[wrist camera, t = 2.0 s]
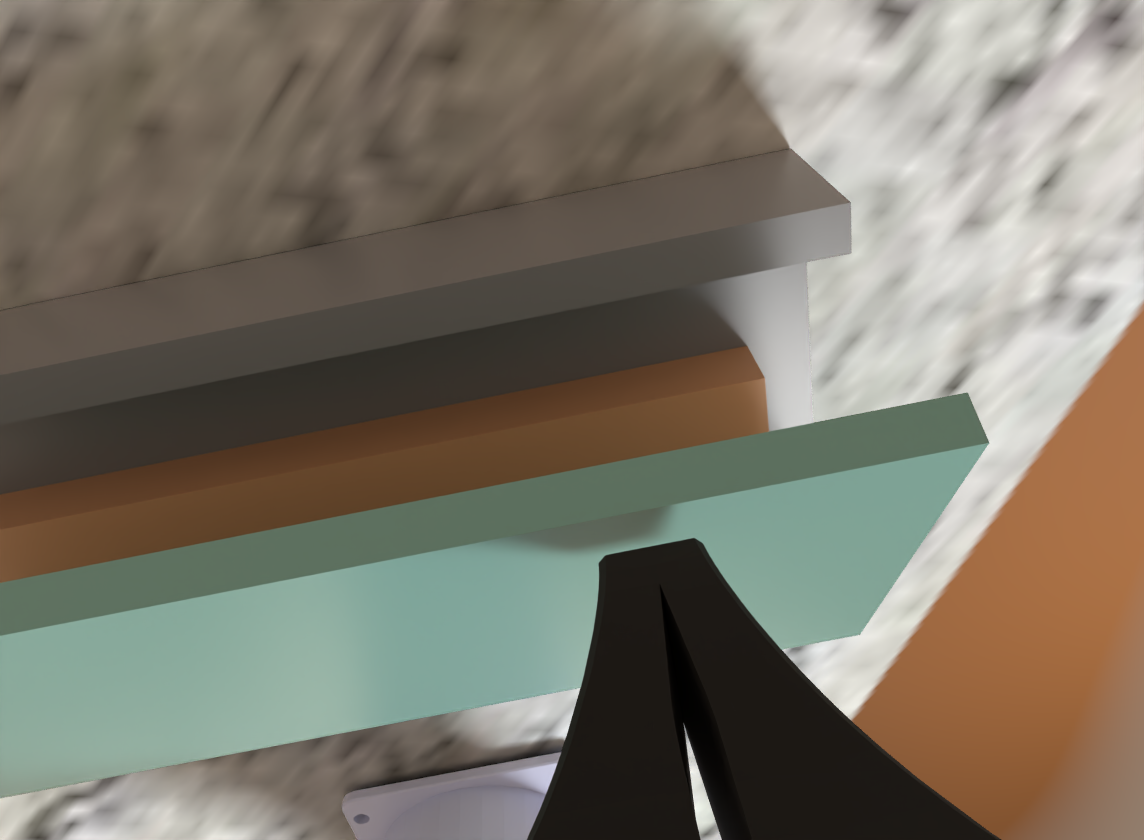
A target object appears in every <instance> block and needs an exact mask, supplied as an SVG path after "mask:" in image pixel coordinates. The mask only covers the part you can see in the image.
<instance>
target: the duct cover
mask: <svg viewBox="0 0 1144 840" xmlns="http://www.w3.org/2000/svg"><path fill="white" fill-rule="evenodd" d="M988 444H989V441H988V439H987V436H986V434H985V432H984V430H983V427H982V425H981V423H980V420H979V418H978V416H977V413H976V411H975V409H974V406H973V404H972V402H971V400H970V397H969V395H968V393H963V394H958V395H953V396H947V397H942V398H937V399H932V400H927V401H922V402H917V403H912V404H907V405H902V406H897V407H892V408H886V409H881V410H876V411H871V412H866V413H861V414H856V415H851V416H846V417H841V418H836V419H831V420H825V421H820V422H815V423H810V424H805V425H800V426H795V427H790V428H785V429H780V430H775V431H770V432H764V433H759V434H754V435H749V436H744V437H739V438H734V439H729V440H724V441H719V442H714V443H709V444H703V445H698V446H693V447H688V448H683V449H678V450H673V451H668V452H663V453H658V454H653V455H648V456H642V457H637V458H632V459H627V460H622V461H617V462H612V463H607V464H602V465H597V466H592V467H587V468H581V469H576V470H571V471H566V472H561V473H556V474H551V475H546V476H541V477H536V478H531V479H526V480H520V481H515V482H510V483H505V484H500V485H495V486H490V487H485V488H480V489H475V490H470V491H465V492H459V493H454V494H449V495H444V496H439V497H434V498H429V499H424V500H419V501H414V502H409V503H404V504H398V505H393V506H388V507H383V508H378V509H373V510H368V511H363V512H358V513H353V514H348V515H343V516H337V517H332V518H327V519H322V520H317V521H312V522H307V523H302V524H297V525H292V526H287V527H282V528H276V529H271V530H266V531H261V532H256V533H251V534H246V535H241V536H236V537H231V538H226V539H221V540H215V541H210V542H205V543H200V544H195V545H190V546H185V547H180V548H175V549H170V550H165V551H160V552H154V553H149V554H144V555H139V556H134V557H129V558H124V559H119V560H114V561H109V562H104V563H99V564H93V565H88V566H83V567H78V568H73V569H68V570H63V571H58V572H53V573H48V574H43V575H38V576H32V577H27V578H22V579H17V580H12V581H7V582H2V583H0V798H4V797H9V796H15V795H20V794H25V793H30V792H36V791H41V790H46V789H51V788H57V787H62V786H67V785H72V784H78V783H83V782H88V781H93V780H99V779H104V778H109V777H114V776H120V775H125V774H130V773H136V772H141V771H146V770H151V769H157V768H162V767H167V766H172V765H178V764H183V763H188V762H193V761H199V760H204V759H209V758H214V757H220V756H225V755H230V754H235V753H241V752H246V751H251V750H256V749H262V748H267V747H272V746H277V745H283V744H288V743H293V742H298V741H304V740H309V739H314V738H319V737H325V736H330V735H335V734H341V733H346V732H351V731H356V730H362V729H367V728H372V727H377V726H383V725H388V724H393V723H398V722H404V721H409V720H414V719H419V718H425V717H430V716H435V715H440V714H446V713H451V712H456V711H461V710H467V709H472V708H477V707H482V706H488V705H493V704H498V703H503V702H509V701H514V700H519V699H524V698H530V697H535V696H540V695H546V694H551V693H556V692H561V691H567V690H572V689H577V688H581V685H582V681H583V677H584V672H585V667H586V663H587V658H588V653H589V649H590V644H591V639H592V635H593V629H594V622H595V616H596V609H597V601H598V589H599V564H598V563H599V562H600V561H601V560H602V558H603V557H604V556H605V555H608V554H613V553H619V552H624V551H629V550H634V549H639V548H644V547H650V546H655V545H660V544H665V543H670V542H675V541H681V540H686V539H691V538H695V539H697V540H699V541H700V542H702V543H703V544H704V546H705V548H706V550H707V552H708V553H709V555H710V557H711V558H712V560H713V562H714V563H715V565H716V566H717V568H718V569H719V571H720V573H721V574H722V575H723V577H724V578H725V580H726V581H727V583H728V584H729V585H730V587H731V588H732V589H733V591H734V592H735V593H736V595H737V596H738V598H739V599H740V600H741V602H742V603H743V604H744V605H745V607H746V608H747V609H748V611H749V612H750V613H751V614H752V616H753V617H754V618H755V619H756V620H757V622H758V623H759V624H760V625H761V626H762V627H763V629H764V630H765V631H766V632H767V633H768V635H769V636H770V637H771V638H772V639H773V640H774V642H775V643H776V644H777V645H778V646H779V647H780V649H781V650H782V649H787V648H793V647H798V646H803V645H808V644H814V643H819V642H824V641H829V640H835V639H840V638H845V637H850V636H856V635H860V634H861V632H862V631H863V629H864V628H865V626H866V625H867V623H868V622H869V620H870V619H871V617H872V616H873V614H874V613H875V611H876V610H877V608H878V607H879V605H880V604H881V603H882V601H883V600H884V598H885V597H886V595H887V594H888V592H889V591H890V589H891V588H892V586H893V585H894V583H895V582H896V580H897V579H898V577H899V576H900V574H901V573H902V571H903V570H904V568H905V567H906V565H907V564H908V563H909V561H910V560H911V558H912V557H913V555H914V554H915V552H916V551H917V549H918V548H919V546H920V545H921V543H922V542H923V540H924V539H925V537H926V536H927V534H928V533H929V531H930V530H931V528H932V527H933V525H934V524H935V523H936V521H937V520H938V518H939V517H940V515H941V514H942V512H943V511H944V509H945V508H946V506H947V505H948V503H949V502H950V500H951V499H952V497H953V496H954V494H955V493H956V491H957V490H958V488H959V487H960V485H961V484H962V483H963V481H964V480H965V478H966V477H967V475H968V474H969V472H970V471H971V469H972V468H973V466H974V465H975V463H976V462H977V460H978V459H979V457H980V456H981V454H982V453H983V451H984V450H985V448H986V447H987V445H988Z"/></svg>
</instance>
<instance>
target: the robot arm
mask: <svg viewBox="0 0 1144 840" xmlns="http://www.w3.org/2000/svg"><path fill="white" fill-rule="evenodd" d="M598 564H599V589H598V601H597V609H596V616H595V622H594V629H593V635H592V639H591V644H590V649H589V653H588V658H587V663H586V667H585V672H584V677H583V681H582V685H581V688H580V692H579V695H578V699H577V702H576V706H575V709H574V713H573V716H572V719H571V723H570V726H569V730H568V733H567V737H566V740H565V743H564V746H563V749H562V752H558V753H553V754H547V755H542V756H537V757H531V758H526V759H521V760H515V761H510V762H505V763H500V764H494V765H489V766H484V767H478V768H473V769H468V770H462V771H457V772H452V773H446V774H441V775H436V776H431V777H425V778H420V779H415V780H409V781H404V782H399V783H393V784H388V785H383V786H377V787H372V788H367V789H362V790H356V791H352V792H349V793H348V794H346V795H345V796H344V798H343V802H342V812H343V814H344V815H345V817H346V819H347V821H348V823H349V825H350V827H351V829H352V831H353V833H354V835H355V837H356V839H357V840H700V836H699V831H698V827H697V823H696V817H695V809H694V802H693V794H692V786H691V778H690V770H689V762H688V754H687V746H686V738H685V730H684V725H685V728H686V731H687V734H688V738H689V741H690V744H691V747H692V750H693V753H694V756H695V759H696V762H697V765H698V768H699V771H700V774H701V777H702V780H703V784H704V787H705V790H706V793H707V796H708V799H709V802H710V805H711V808H712V811H713V814H714V817H715V820H716V823H717V826H718V829H719V832H720V835H721V838H722V840H1001V839H999V838H998V837H996V836H995V835H993V834H992V833H990V832H989V831H988V830H986V829H985V828H984V827H982V826H981V825H980V824H978V823H977V822H976V821H974V820H973V819H972V818H970V817H969V816H968V815H966V814H965V813H964V812H962V811H961V810H960V809H958V808H957V807H956V806H954V805H953V804H952V803H950V802H949V801H948V800H946V799H945V798H943V797H942V796H941V795H939V794H938V793H937V792H935V791H934V790H933V789H932V788H930V787H929V786H928V785H926V784H925V783H924V782H922V781H921V780H920V779H918V778H917V777H916V776H915V775H913V774H912V773H911V772H910V771H909V770H907V769H906V768H905V767H904V766H903V765H901V764H900V763H899V762H898V761H897V760H895V759H894V758H893V757H892V756H891V755H889V754H888V753H887V752H886V751H885V750H883V749H882V748H881V747H880V746H879V745H878V744H876V743H875V742H874V741H873V740H872V739H871V738H870V737H869V736H868V735H866V734H865V733H864V732H863V731H862V730H861V729H860V728H859V727H857V726H856V725H855V724H854V723H853V722H852V721H851V720H850V719H849V718H848V717H847V716H845V715H844V714H843V713H842V712H841V711H840V710H839V709H838V708H837V707H836V706H835V705H834V704H833V703H832V702H831V701H830V700H829V699H828V698H827V697H826V696H825V695H824V694H823V693H822V692H821V691H820V690H819V689H818V688H817V687H816V686H815V685H814V684H813V683H812V682H811V681H810V680H809V679H808V678H807V677H806V676H805V675H804V674H803V673H802V672H801V671H800V669H799V668H798V667H797V666H796V665H795V664H794V663H793V662H792V661H791V660H790V659H789V657H788V656H787V655H786V654H785V653H784V652H783V651H782V650H781V649H780V647H779V646H778V645H777V644H776V643H775V642H774V640H773V639H772V638H771V637H770V636H769V635H768V633H767V632H766V631H765V630H764V629H763V627H762V626H761V625H760V624H759V623H758V622H757V620H756V619H755V618H754V617H753V616H752V614H751V613H750V612H749V611H748V609H747V608H746V607H745V605H744V604H743V603H742V602H741V600H740V599H739V598H738V596H737V595H736V593H735V592H734V591H733V589H732V588H731V587H730V585H729V584H728V583H727V581H726V580H725V578H724V577H723V575H722V574H721V573H720V571H719V569H718V568H717V566H716V565H715V563H714V562H713V560H712V558H711V557H710V555H709V553H708V552H707V550H706V548H705V546H704V544H703V543H702V542H700V541H699V540H697V539H695V538H691V539H686V540H681V541H675V542H670V543H665V544H660V545H655V546H650V547H644V548H639V549H634V550H629V551H624V552H619V553H613V554H608V555H605V556H604V557H603V558H602V560H601V561H600V562H599V563H598Z"/></svg>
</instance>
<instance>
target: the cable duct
mask: <svg viewBox="0 0 1144 840" xmlns="http://www.w3.org/2000/svg"><path fill="white" fill-rule="evenodd" d="M850 253H851V202H850V201H848V200H847V199H846V198H845V197H844V196H843V195H842V194H841V193H840V192H838V191H837V190H836V189H835V188H834V187H833V186H832V185H831V184H830V183H828V182H827V181H826V180H825V179H824V178H823V177H822V176H821V175H820V174H819V173H817V172H816V171H815V170H814V169H813V168H812V167H811V166H810V165H809V164H807V163H806V162H805V161H804V160H803V159H802V158H801V157H800V156H799V155H797V154H796V153H795V152H794V151H793V150H792V149H786V150H782V151H777V152H772V153H767V154H762V155H757V156H752V157H747V158H743V159H738V160H733V161H728V162H723V163H718V164H713V165H708V166H703V167H699V168H694V169H689V170H684V171H679V172H674V173H669V174H664V175H660V176H655V177H650V178H645V179H640V180H635V181H630V182H625V183H621V184H616V185H611V186H606V187H601V188H596V189H591V190H586V191H581V192H577V193H572V194H567V195H562V196H557V197H552V198H547V199H542V200H538V201H533V202H528V203H523V204H518V205H513V206H508V207H503V208H499V209H494V210H489V211H484V212H479V213H474V214H469V215H464V216H459V217H455V218H450V219H445V220H440V221H435V222H430V223H425V224H420V225H416V226H411V227H406V228H401V229H396V230H391V231H386V232H381V233H377V234H372V235H367V236H362V237H357V238H352V239H347V240H342V241H337V242H333V243H328V244H323V245H318V246H313V247H308V248H303V249H298V250H294V251H289V252H284V253H279V254H274V255H269V256H264V257H259V258H255V259H250V260H245V261H240V262H235V263H230V264H225V265H220V266H215V267H211V268H206V269H201V270H196V271H191V272H186V273H181V274H176V275H172V276H167V277H162V278H157V279H152V280H147V281H142V282H137V283H133V284H128V285H123V286H118V287H113V288H108V289H103V290H98V291H93V292H89V293H84V294H79V295H74V296H69V297H64V298H59V299H54V300H50V301H45V302H40V303H35V304H30V305H25V306H20V307H15V308H11V309H6V310H1V311H0V583H2V582H7V581H12V580H17V579H22V578H27V577H32V576H38V575H43V574H48V573H53V572H58V571H63V570H68V569H73V568H78V567H83V566H88V565H93V564H99V563H104V562H109V561H114V560H119V559H124V558H129V557H134V556H139V555H144V554H149V553H154V552H160V551H165V550H170V549H175V548H180V547H185V546H190V545H195V544H200V543H205V542H210V541H215V540H221V539H226V538H231V537H236V536H241V535H246V534H251V533H256V532H261V531H266V530H271V529H276V528H282V527H287V526H292V525H297V524H302V523H307V522H312V521H317V520H322V519H327V518H332V517H337V516H343V515H348V514H353V513H358V512H363V511H368V510H373V509H378V508H383V507H388V506H393V505H398V504H404V503H409V502H414V501H419V500H424V499H429V498H434V497H439V496H444V495H449V494H454V493H459V492H465V491H470V490H475V489H480V488H485V487H490V486H495V485H500V484H505V483H510V482H515V481H520V480H526V479H531V478H536V477H541V476H546V475H551V474H556V473H561V472H566V471H571V470H576V469H581V468H587V467H592V466H597V465H602V464H607V463H612V462H617V461H622V460H627V459H632V458H637V457H642V456H648V455H653V454H658V453H663V452H668V451H673V450H678V449H683V448H688V447H693V446H698V445H703V444H709V443H714V442H719V441H724V440H729V439H734V438H739V437H744V436H749V435H754V434H759V433H764V432H770V431H775V430H780V429H785V428H790V427H795V426H800V425H805V424H810V423H814V421H813V399H812V376H811V354H810V332H809V309H808V287H807V264H806V262H810V261H815V260H820V259H825V258H830V257H835V256H840V255H845V254H850Z"/></svg>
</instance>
